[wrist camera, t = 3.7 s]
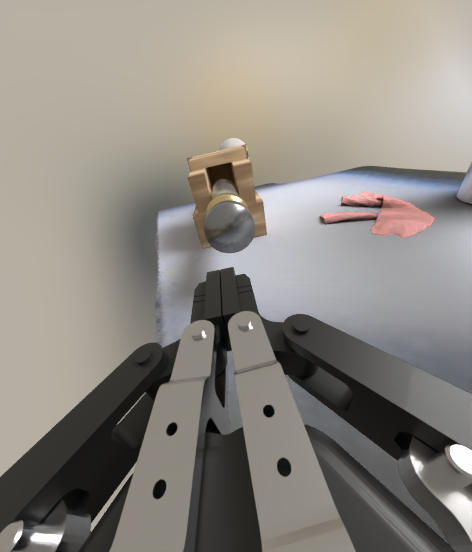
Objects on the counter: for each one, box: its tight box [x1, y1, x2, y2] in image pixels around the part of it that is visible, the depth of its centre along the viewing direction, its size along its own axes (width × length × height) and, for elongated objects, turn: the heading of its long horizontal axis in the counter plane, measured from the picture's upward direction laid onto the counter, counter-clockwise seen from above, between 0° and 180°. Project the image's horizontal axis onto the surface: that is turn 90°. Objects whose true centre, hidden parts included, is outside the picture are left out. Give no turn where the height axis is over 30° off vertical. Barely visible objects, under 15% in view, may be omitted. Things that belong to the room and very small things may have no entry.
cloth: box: [320, 192, 435, 238], centre depth 37 cm, size 20×22×2 cm
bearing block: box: [187, 144, 267, 248], centre depth 39 cm, size 14×12×14 cm
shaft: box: [204, 179, 255, 253], centre depth 28 cm, size 17×5×5 cm, turn 5°
